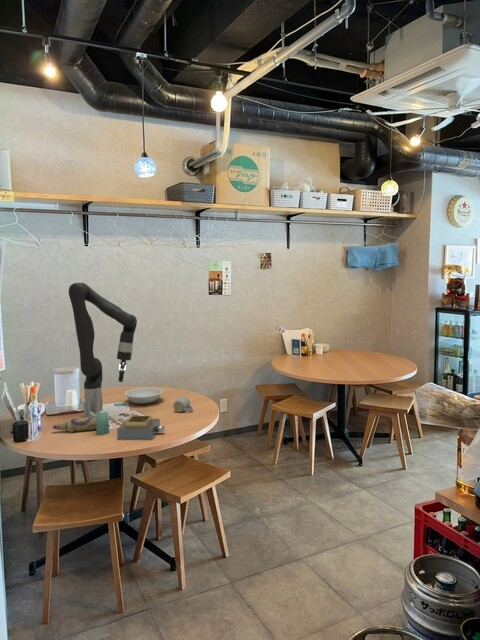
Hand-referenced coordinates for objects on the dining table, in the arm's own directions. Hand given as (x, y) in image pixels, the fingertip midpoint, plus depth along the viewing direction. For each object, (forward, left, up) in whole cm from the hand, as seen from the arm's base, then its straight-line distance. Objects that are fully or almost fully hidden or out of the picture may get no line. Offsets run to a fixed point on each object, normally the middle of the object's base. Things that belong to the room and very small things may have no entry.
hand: (120, 380), depth 252 cm
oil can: (-5, -21, -22) cm, 31 cm away
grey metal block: (+17, -21, -22) cm, 35 cm away
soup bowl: (+2, +35, -22) cm, 42 cm away
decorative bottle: (-17, -15, -22) cm, 32 cm away
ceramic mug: (+31, +17, -22) cm, 42 cm away
